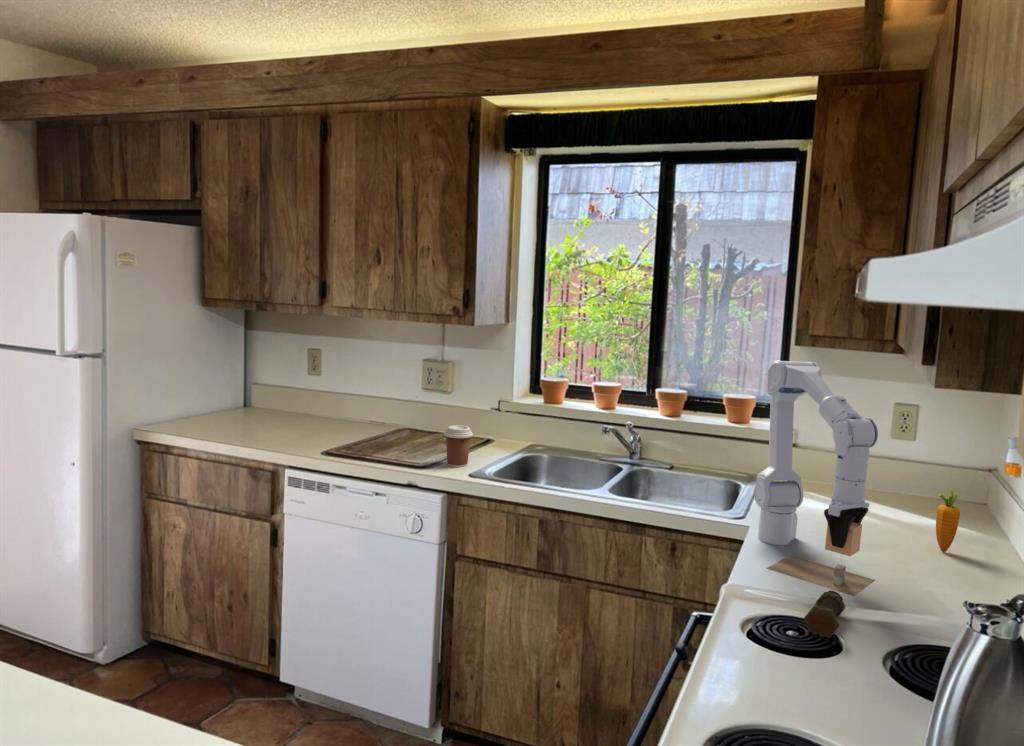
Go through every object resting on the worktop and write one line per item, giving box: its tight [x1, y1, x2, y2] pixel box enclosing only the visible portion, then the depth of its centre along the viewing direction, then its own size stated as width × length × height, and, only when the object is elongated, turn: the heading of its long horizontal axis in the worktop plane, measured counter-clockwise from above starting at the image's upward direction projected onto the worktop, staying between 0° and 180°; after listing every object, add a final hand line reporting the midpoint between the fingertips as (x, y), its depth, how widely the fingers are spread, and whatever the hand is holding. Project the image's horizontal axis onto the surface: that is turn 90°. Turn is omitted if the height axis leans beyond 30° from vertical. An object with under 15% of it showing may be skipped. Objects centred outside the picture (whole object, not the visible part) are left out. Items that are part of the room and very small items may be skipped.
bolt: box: [803, 589, 846, 639], centre depth 141 cm, size 6×5×15 cm
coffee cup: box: [443, 424, 474, 468], centre depth 239 cm, size 9×9×12 cm
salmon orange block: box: [824, 522, 863, 557], centre depth 154 cm, size 5×5×6 cm
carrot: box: [935, 489, 961, 553], centre depth 181 cm, size 5×5×15 cm
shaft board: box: [766, 554, 875, 597], centre depth 160 cm, size 12×18×5 cm, turn 47°
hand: (842, 543), depth 154 cm, fingers closed on salmon orange block, 5 cm apart
